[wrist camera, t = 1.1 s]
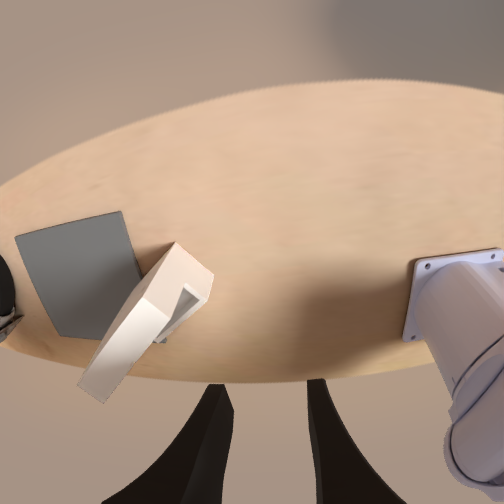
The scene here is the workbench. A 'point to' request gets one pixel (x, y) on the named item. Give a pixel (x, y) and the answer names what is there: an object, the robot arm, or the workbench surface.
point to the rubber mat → (82, 272)
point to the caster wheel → (6, 302)
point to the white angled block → (147, 318)
